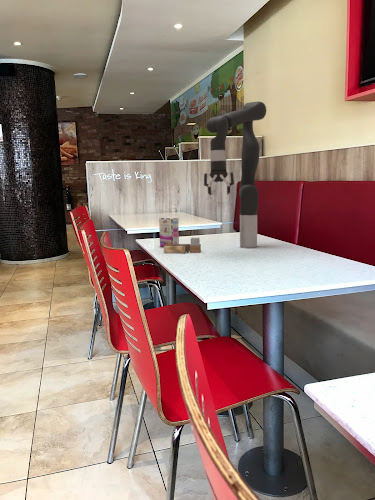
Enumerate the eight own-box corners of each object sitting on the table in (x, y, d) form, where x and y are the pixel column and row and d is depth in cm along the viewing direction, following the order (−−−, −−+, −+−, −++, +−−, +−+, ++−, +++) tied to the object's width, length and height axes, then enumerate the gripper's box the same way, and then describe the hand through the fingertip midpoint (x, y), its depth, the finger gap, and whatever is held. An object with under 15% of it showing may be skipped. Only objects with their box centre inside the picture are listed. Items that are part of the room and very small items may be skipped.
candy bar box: (179, 248, 233) (178, 217, 230) (172, 249, 229) (171, 218, 227) (166, 246, 241) (165, 216, 238) (159, 247, 238) (158, 217, 235)
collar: (192, 244, 220) (191, 237, 219) (199, 244, 219) (199, 237, 219) (190, 245, 216) (190, 238, 216) (198, 245, 215) (198, 238, 215)
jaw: (186, 251, 217) (185, 245, 216) (185, 252, 214) (185, 246, 214) (164, 251, 218) (164, 245, 218) (163, 252, 216) (163, 246, 215)
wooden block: (166, 250, 224) (166, 242, 223) (200, 250, 221) (200, 242, 220) (163, 253, 216) (163, 244, 216) (199, 253, 214) (199, 244, 213)
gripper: (202, 160, 201) (203, 195, 203) (233, 159, 199) (233, 194, 201) (204, 161, 208) (205, 195, 211) (233, 160, 206) (234, 193, 209)
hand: (219, 194), depth 206 cm, fingers open, 8 cm apart
